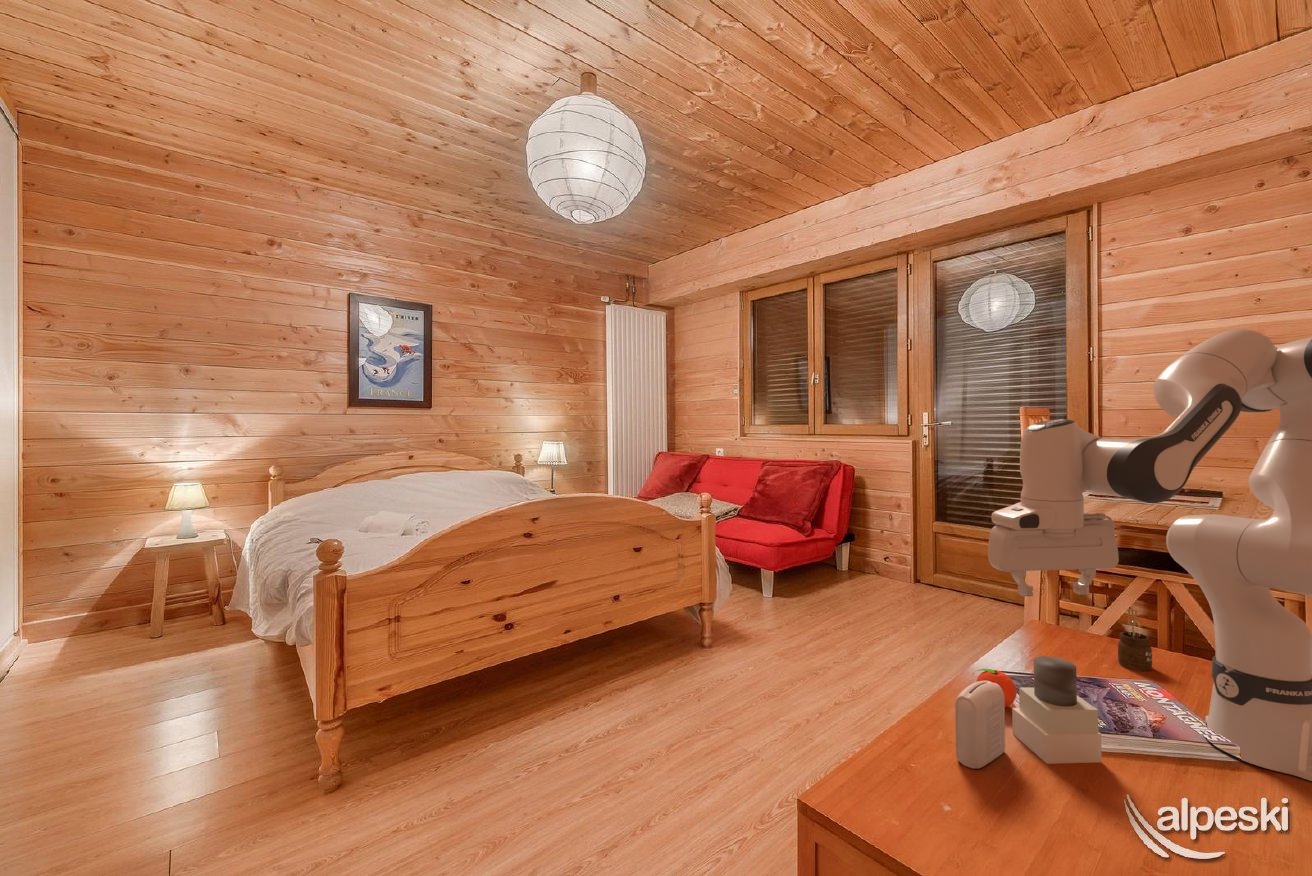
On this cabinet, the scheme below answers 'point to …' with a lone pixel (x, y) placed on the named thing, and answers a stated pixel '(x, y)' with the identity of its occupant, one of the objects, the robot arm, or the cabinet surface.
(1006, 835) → the cabinet surface
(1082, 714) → the tower top block
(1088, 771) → the cabinet surface
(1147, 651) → the utensil holder
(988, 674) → the clementine
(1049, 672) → the charcoal cylinder
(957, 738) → the photo printer
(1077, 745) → the tower bottom block
